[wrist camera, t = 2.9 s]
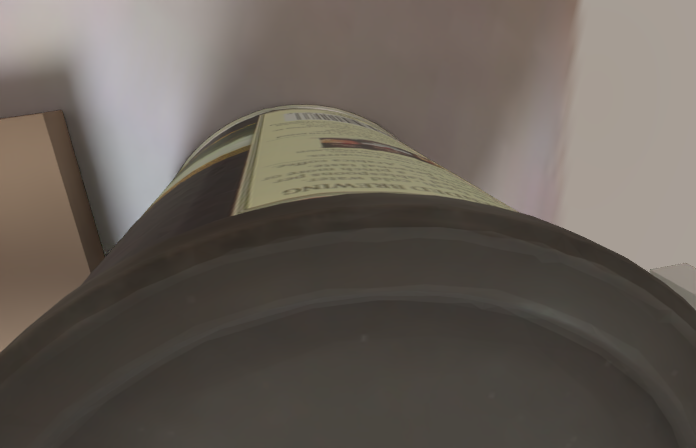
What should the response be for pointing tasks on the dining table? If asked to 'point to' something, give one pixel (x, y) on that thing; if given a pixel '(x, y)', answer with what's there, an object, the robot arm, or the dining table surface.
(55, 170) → the pin board
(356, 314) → the coffee can
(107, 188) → the dining table surface
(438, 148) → the dining table surface
